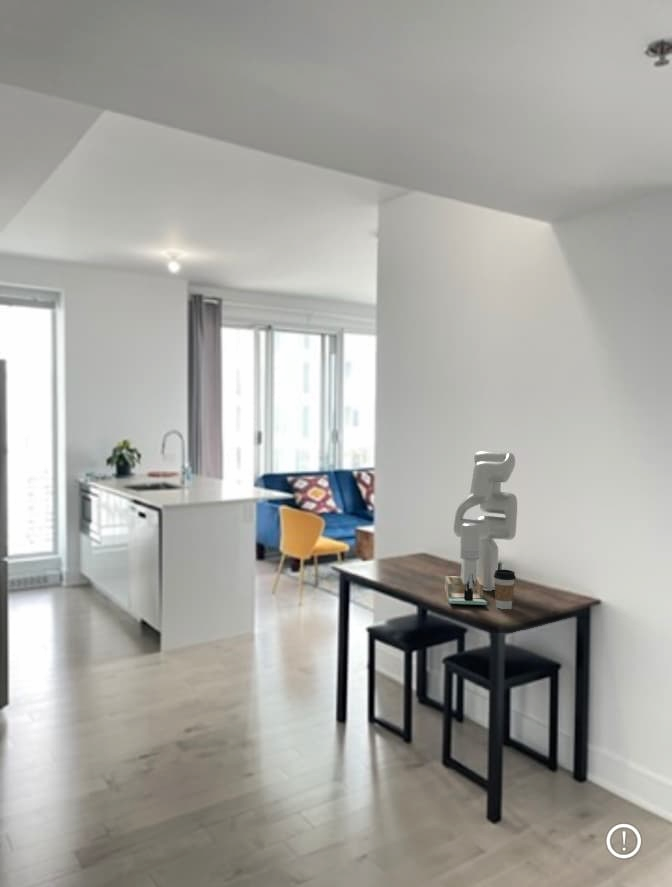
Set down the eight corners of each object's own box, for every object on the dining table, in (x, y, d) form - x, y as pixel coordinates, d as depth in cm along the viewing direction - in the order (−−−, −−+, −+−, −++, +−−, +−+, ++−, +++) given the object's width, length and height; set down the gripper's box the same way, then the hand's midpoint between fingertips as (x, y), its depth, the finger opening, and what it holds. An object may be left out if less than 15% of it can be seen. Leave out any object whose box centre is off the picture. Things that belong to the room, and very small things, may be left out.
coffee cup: (496, 611, 262) (497, 573, 262) (490, 604, 271) (491, 568, 270) (517, 611, 263) (518, 573, 262) (510, 605, 271) (512, 568, 270)
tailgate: (483, 599, 274) (486, 601, 265) (483, 602, 274) (486, 604, 265) (448, 598, 275) (450, 600, 266) (448, 601, 275) (450, 603, 266)
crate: (478, 593, 287) (478, 577, 287) (482, 601, 275) (483, 584, 275) (444, 592, 288) (445, 576, 288) (447, 600, 276) (448, 583, 276)
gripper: (457, 550, 275) (456, 594, 276) (462, 558, 260) (461, 605, 261) (476, 550, 274) (475, 595, 275) (482, 559, 259) (481, 606, 260)
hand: (468, 600), depth 268 cm, fingers closed
